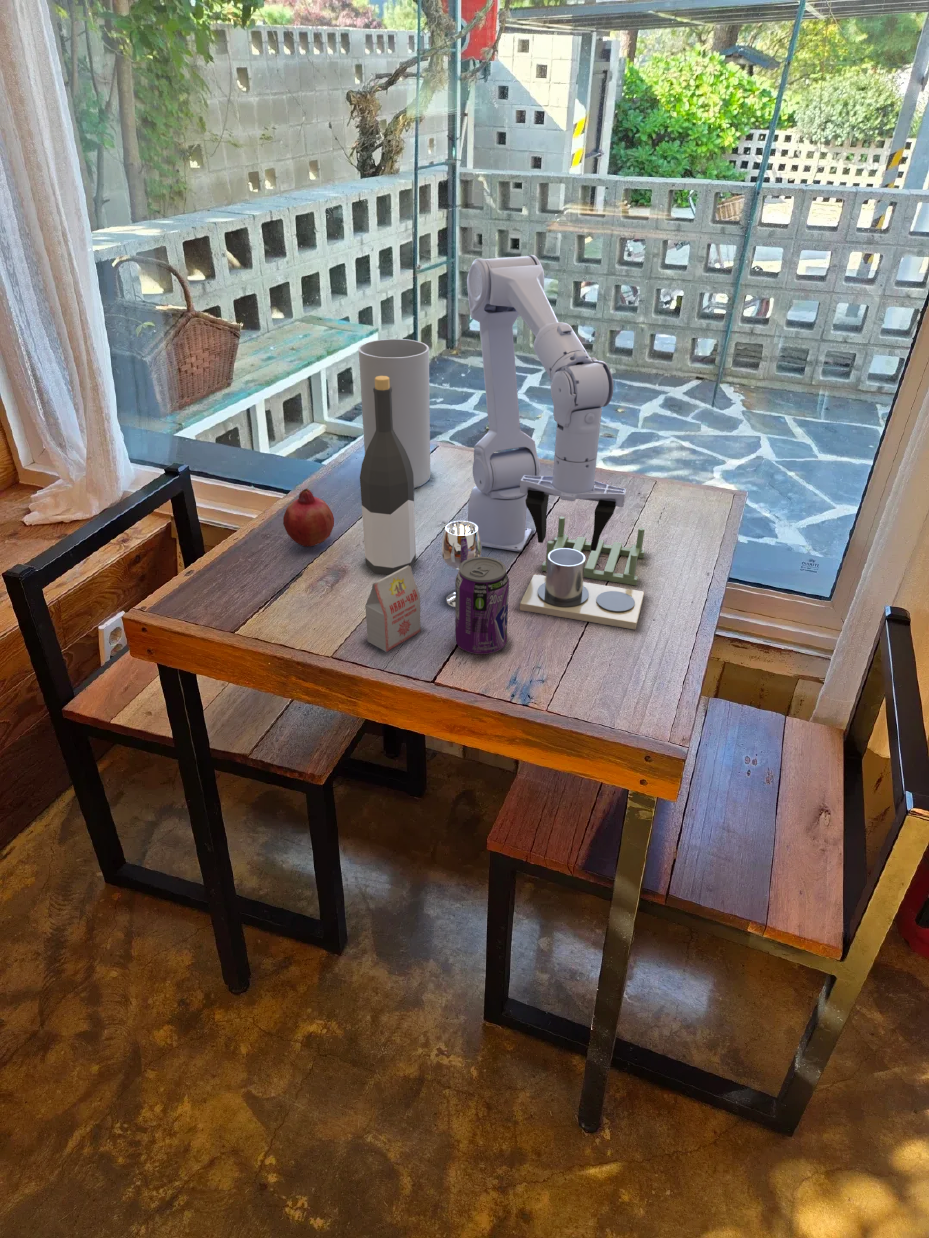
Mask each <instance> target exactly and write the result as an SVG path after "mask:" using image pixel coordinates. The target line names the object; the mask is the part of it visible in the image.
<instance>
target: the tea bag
mask: <svg viewBox="0 0 929 1238" xmlns="http://www.w3.org/2000/svg"><path fill="white" fill-rule="evenodd" d="M413 574H414V573H413V571H412V569H411V566H409V565H408V566H406V567H404V568H402V569H400V570H398V571H396V572H394V573H392V574H390V575H385V576H384V577H383V578H381V579H379V580H377V581H375V582H373V583H372V585H371V590H370V593H369V596H368V598H367V600H366V603H365V605H364V607H365V621H366V623H365V625H366V637H367V642H368V643H369V644H371V645H373V646H375V647H377V648H378V649H380V650H382V651H383V652H389V651H390V650H392V649H394V648H395V647H397V646H399V645H401V644H402V643H404V642H406V641H407V640H409V639H410V638H412V637H414V636H416V635H417V634H418V633H421V631H422V628H421V627H422V626H421V625H422V624H421V595H420V592H419V589H418V586H417V583H416V580H415V577H414V575H413Z"/></svg>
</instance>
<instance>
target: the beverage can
mask: <svg viewBox="0 0 929 1238" xmlns="http://www.w3.org/2000/svg"><path fill="white" fill-rule="evenodd" d="M458 571H459V573H458V572H457V574H456V576H455V583H454V584H455V587H454V588H455V589H454V593H455V607H454V608H455V609H454V610H455V611H454V622H455V623H454V625H455V626H454V639H455V640H454V641H455V643H456V645H457V647H459V648H460V649H461V650H463V651H465V652H468V653H471V654H475V655H488V654H493V653H496V652H499V651H500V650H502V649H503V648H504V647H505V646H506V644H507V642H508V622H509V621H508V619H509V597H510V596H509V595H510V577H509V575H508V573H507V566H506V565H505V564H504V562H502V561H501V560H499V559H497V558H495V557H490V556H481V557H474V558H470V559H467V560H465V561H463V562H462V563H461V564H460V566H459V570H458Z"/></svg>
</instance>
